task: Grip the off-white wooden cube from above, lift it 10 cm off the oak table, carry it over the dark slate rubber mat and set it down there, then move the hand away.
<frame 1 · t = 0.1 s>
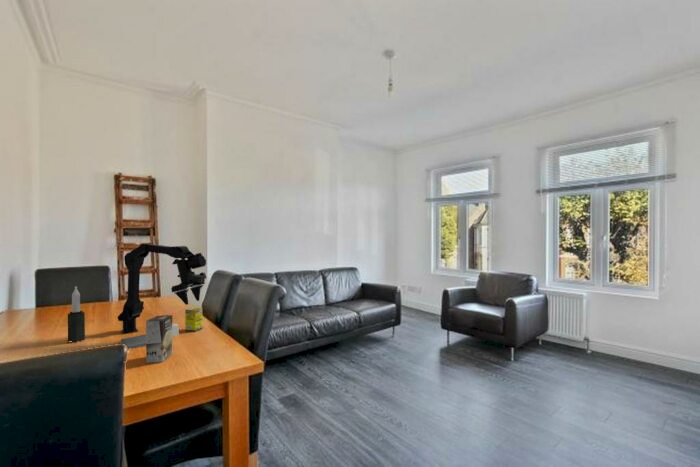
hand: (192, 302, 170), 15 cm above the table, tool pointing down, fingers open, 9 cm apart
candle: (76, 341, 161), on the table
coffee box: (159, 358, 139), on the table
supplement box: (194, 330, 178), on the table
rubber mat: (141, 341, 159), on the table
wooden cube: (171, 335, 169), on the table
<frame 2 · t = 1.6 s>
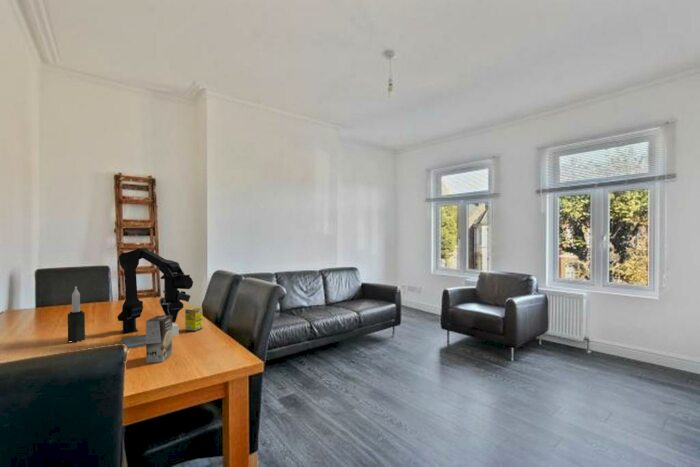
hand: (171, 320, 169), 7 cm above the table, tool pointing down, fingers open, 9 cm apart
nothing on the table moved.
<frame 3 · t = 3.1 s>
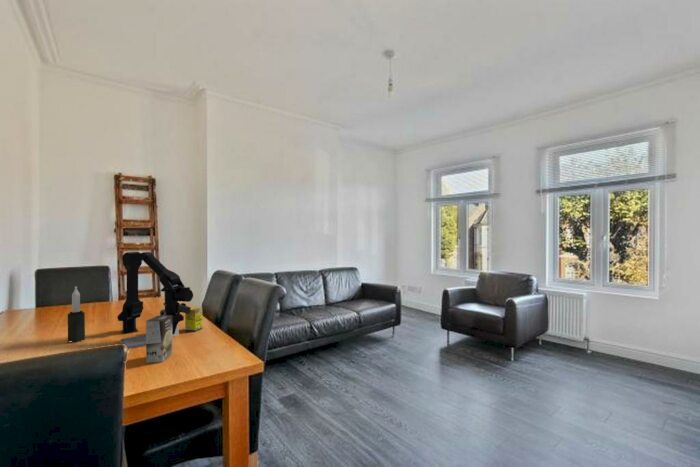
hand: (171, 333, 169), 1 cm above the table, tool pointing down, fingers closed on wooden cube, 5 cm apart
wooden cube: (171, 335, 169), on the table, touching gripper
everything else where it was.
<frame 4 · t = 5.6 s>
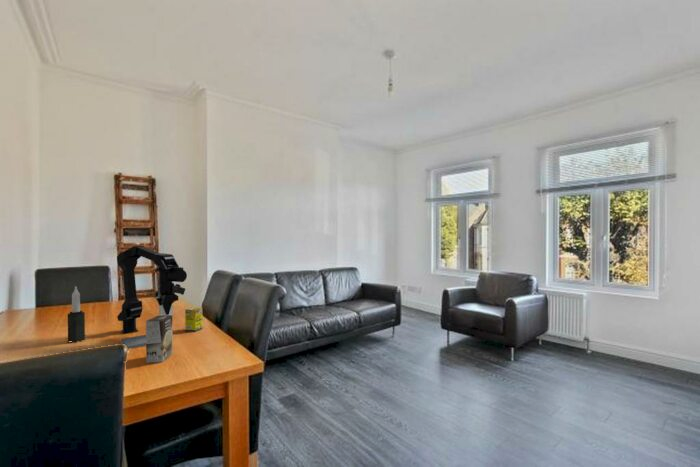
hand: (165, 313, 167), 11 cm above the table, tool pointing down, fingers closed on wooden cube, 5 cm apart
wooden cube: (165, 315, 167), point 10 cm above the table, touching gripper
everything else where it was.
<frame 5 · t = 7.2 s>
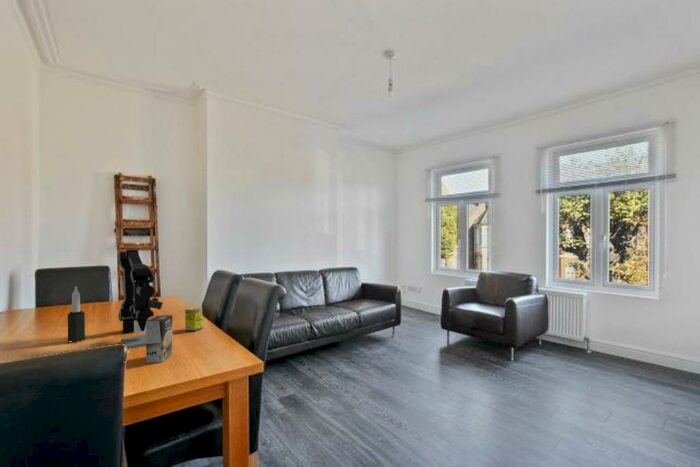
hand: (141, 329, 159), 6 cm above the table, tool pointing down, fingers closed on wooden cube, 5 cm apart
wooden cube: (141, 331, 159), point 5 cm above the table, touching gripper
everything else where it was.
when the fingers open (3 cm above the table, at t = 8.4 s): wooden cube drops 1 cm, resting on rubber mat.
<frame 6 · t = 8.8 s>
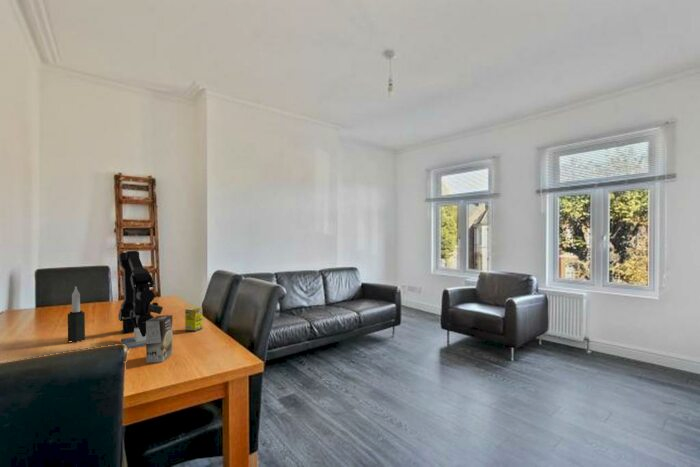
hand: (141, 334, 159), 3 cm above the table, tool pointing down, fingers open, 9 cm apart
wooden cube: (141, 339, 159), point 1 cm above the table, touching rubber mat
everything else where it was.
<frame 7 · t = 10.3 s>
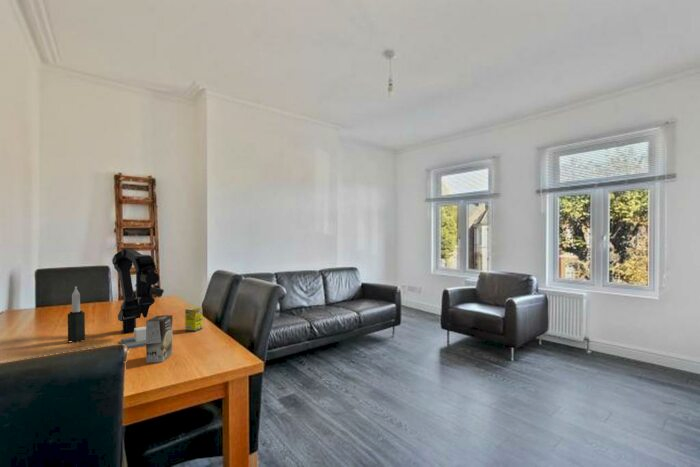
hand: (143, 315, 165), 11 cm above the table, tool pointing down, fingers open, 9 cm apart
nothing on the table moved.
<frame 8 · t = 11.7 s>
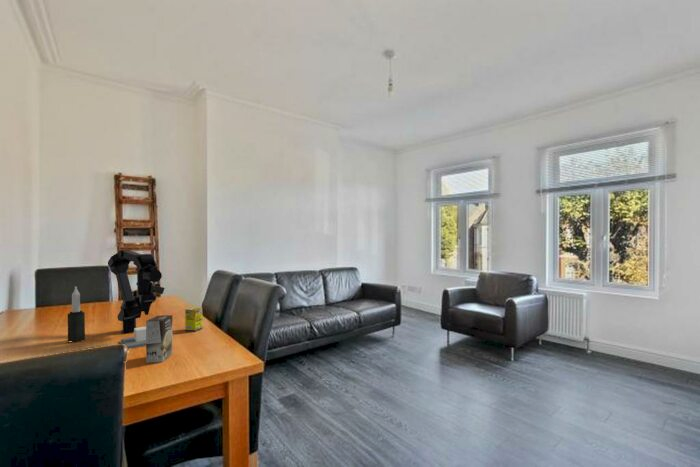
hand: (144, 313, 168), 11 cm above the table, tool pointing down, fingers open, 9 cm apart
nothing on the table moved.
at the end: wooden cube inside the target area on the rubber mat (0.0 cm from its centre), point 1.2 cm above the rubber mat's base; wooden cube tilted 0°; the gripper is holding nothing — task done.
